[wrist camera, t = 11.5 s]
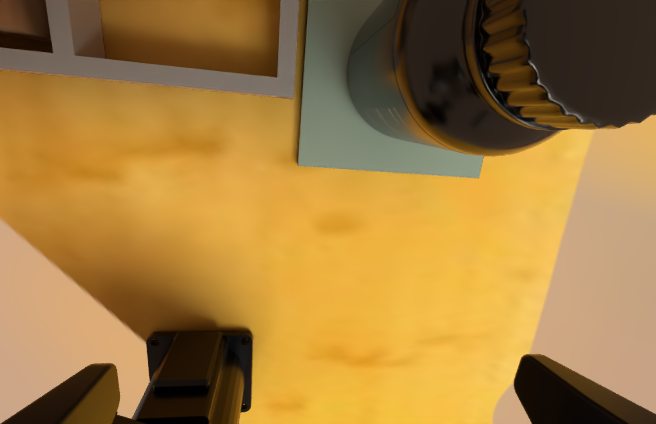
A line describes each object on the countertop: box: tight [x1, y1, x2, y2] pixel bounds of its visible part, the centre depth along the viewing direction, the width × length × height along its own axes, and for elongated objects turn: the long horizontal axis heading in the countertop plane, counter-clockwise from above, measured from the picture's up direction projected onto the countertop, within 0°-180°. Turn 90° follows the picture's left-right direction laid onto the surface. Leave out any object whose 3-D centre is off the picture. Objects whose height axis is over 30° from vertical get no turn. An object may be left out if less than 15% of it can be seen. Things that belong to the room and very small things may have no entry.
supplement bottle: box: [347, 0, 656, 156], centre depth 12 cm, size 7×7×12 cm
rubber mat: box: [298, 0, 484, 178], centre depth 17 cm, size 11×11×1 cm
